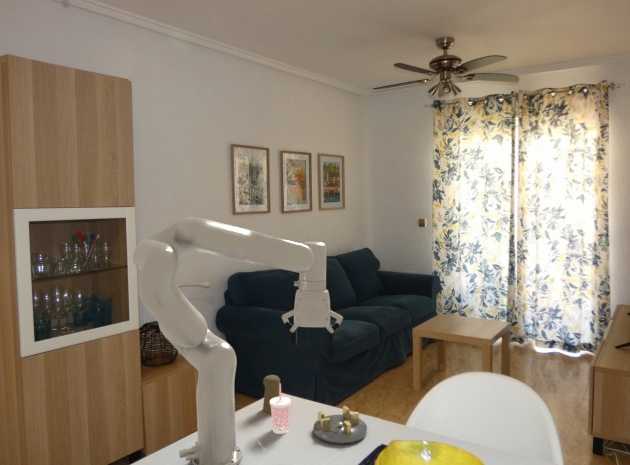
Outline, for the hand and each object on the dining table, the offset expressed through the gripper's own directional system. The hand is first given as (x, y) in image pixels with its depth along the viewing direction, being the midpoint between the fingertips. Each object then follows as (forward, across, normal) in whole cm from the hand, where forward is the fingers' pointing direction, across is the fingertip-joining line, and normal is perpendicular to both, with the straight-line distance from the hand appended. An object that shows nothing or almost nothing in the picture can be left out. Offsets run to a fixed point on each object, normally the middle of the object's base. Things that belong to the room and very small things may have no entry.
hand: (311, 345), depth 144 cm
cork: (+25, -13, +13) cm, 31 cm away
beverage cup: (+25, -9, -1) cm, 27 cm away
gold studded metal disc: (+24, +8, -2) cm, 26 cm away
